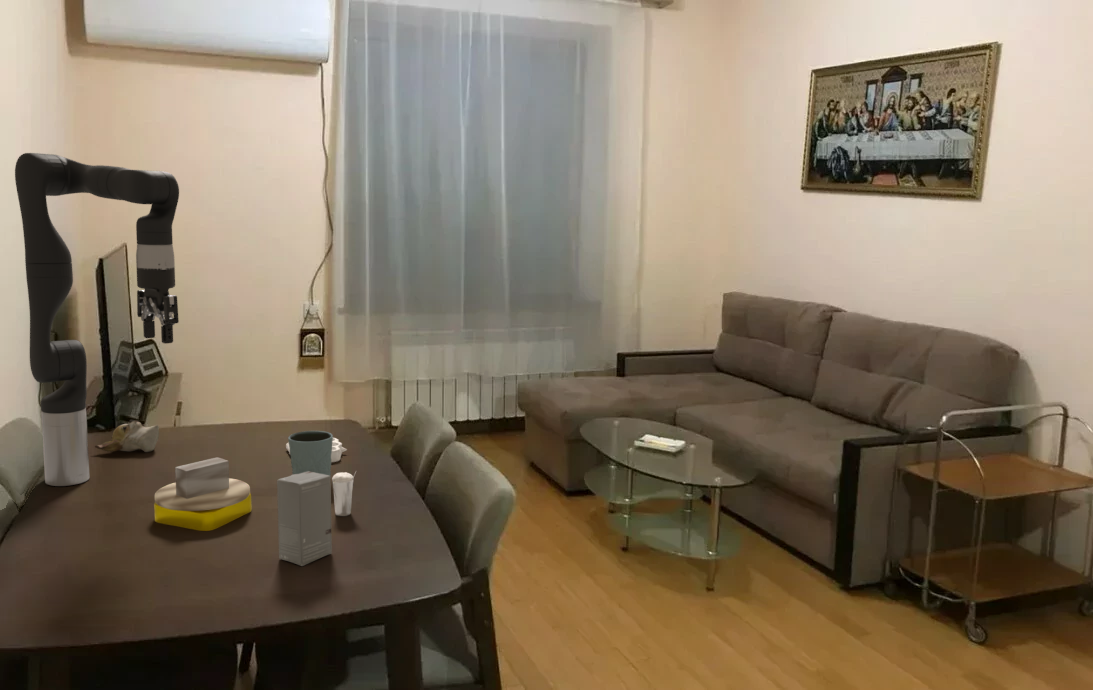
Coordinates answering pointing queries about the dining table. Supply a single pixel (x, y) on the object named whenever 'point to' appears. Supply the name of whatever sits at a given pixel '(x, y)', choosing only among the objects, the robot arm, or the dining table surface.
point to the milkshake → (342, 493)
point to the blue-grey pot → (311, 452)
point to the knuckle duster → (336, 450)
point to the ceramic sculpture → (132, 438)
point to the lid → (202, 487)
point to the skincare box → (304, 517)
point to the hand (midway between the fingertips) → (158, 340)
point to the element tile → (202, 516)
